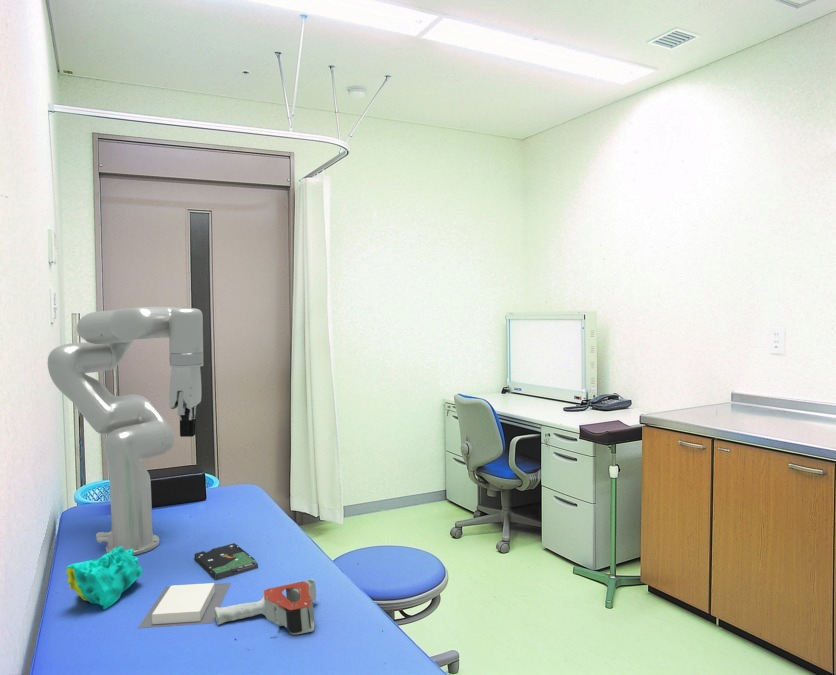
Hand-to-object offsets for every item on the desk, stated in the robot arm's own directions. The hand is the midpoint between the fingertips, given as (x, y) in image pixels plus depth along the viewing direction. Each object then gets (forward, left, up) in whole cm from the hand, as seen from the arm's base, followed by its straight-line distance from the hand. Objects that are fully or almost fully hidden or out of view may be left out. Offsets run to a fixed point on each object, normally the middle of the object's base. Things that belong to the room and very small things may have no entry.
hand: (187, 435), depth 144 cm
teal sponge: (-13, -16, -32) cm, 38 cm away
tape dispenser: (+24, -29, -31) cm, 49 cm away
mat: (+5, -22, -31) cm, 39 cm away
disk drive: (+9, -3, -32) cm, 33 cm away
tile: (+5, -18, -30) cm, 35 cm away
